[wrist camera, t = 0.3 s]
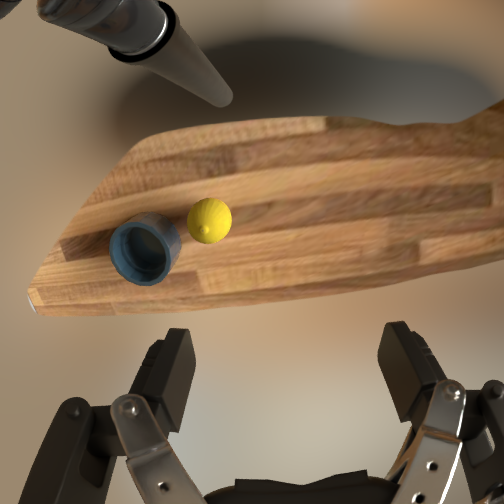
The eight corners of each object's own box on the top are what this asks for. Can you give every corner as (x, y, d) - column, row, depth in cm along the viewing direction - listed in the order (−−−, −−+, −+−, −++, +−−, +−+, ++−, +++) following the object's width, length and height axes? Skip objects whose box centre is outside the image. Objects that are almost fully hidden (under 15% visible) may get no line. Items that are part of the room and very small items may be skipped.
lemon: (198, 189, 38) (182, 203, 31) (237, 196, 38) (231, 212, 31) (193, 227, 40) (177, 248, 33) (230, 234, 40) (223, 257, 33)
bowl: (121, 212, 40) (103, 224, 35) (177, 209, 39) (165, 220, 34) (131, 268, 43) (117, 285, 38) (185, 268, 43) (175, 286, 38)
